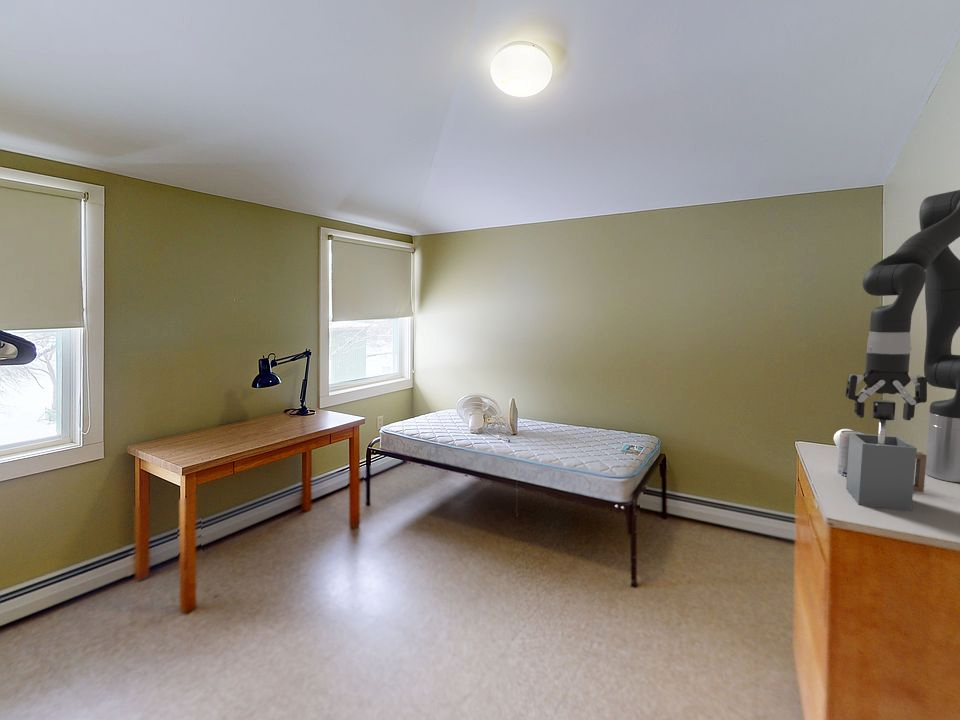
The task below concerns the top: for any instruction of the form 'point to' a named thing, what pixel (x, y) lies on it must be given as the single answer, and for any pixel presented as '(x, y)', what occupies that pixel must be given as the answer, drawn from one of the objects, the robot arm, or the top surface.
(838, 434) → the lightbulb
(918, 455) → the grey square mug
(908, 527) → the top surface
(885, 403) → the plunger
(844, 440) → the energy drink
